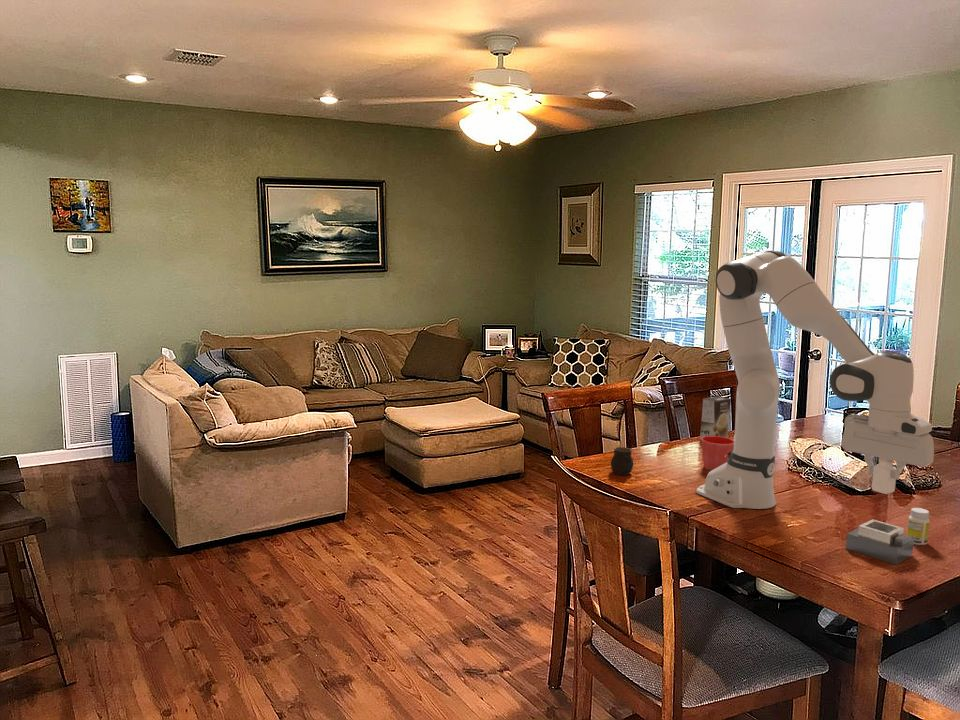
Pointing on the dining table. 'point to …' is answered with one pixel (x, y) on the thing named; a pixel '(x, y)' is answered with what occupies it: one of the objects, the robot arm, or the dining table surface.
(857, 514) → the dining table surface
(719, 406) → the coffee box
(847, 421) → the robot arm
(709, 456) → the flower pot
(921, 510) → the supplement bottle
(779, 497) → the dining table surface
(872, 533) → the block
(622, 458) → the mate gourd
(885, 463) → the white bottle
